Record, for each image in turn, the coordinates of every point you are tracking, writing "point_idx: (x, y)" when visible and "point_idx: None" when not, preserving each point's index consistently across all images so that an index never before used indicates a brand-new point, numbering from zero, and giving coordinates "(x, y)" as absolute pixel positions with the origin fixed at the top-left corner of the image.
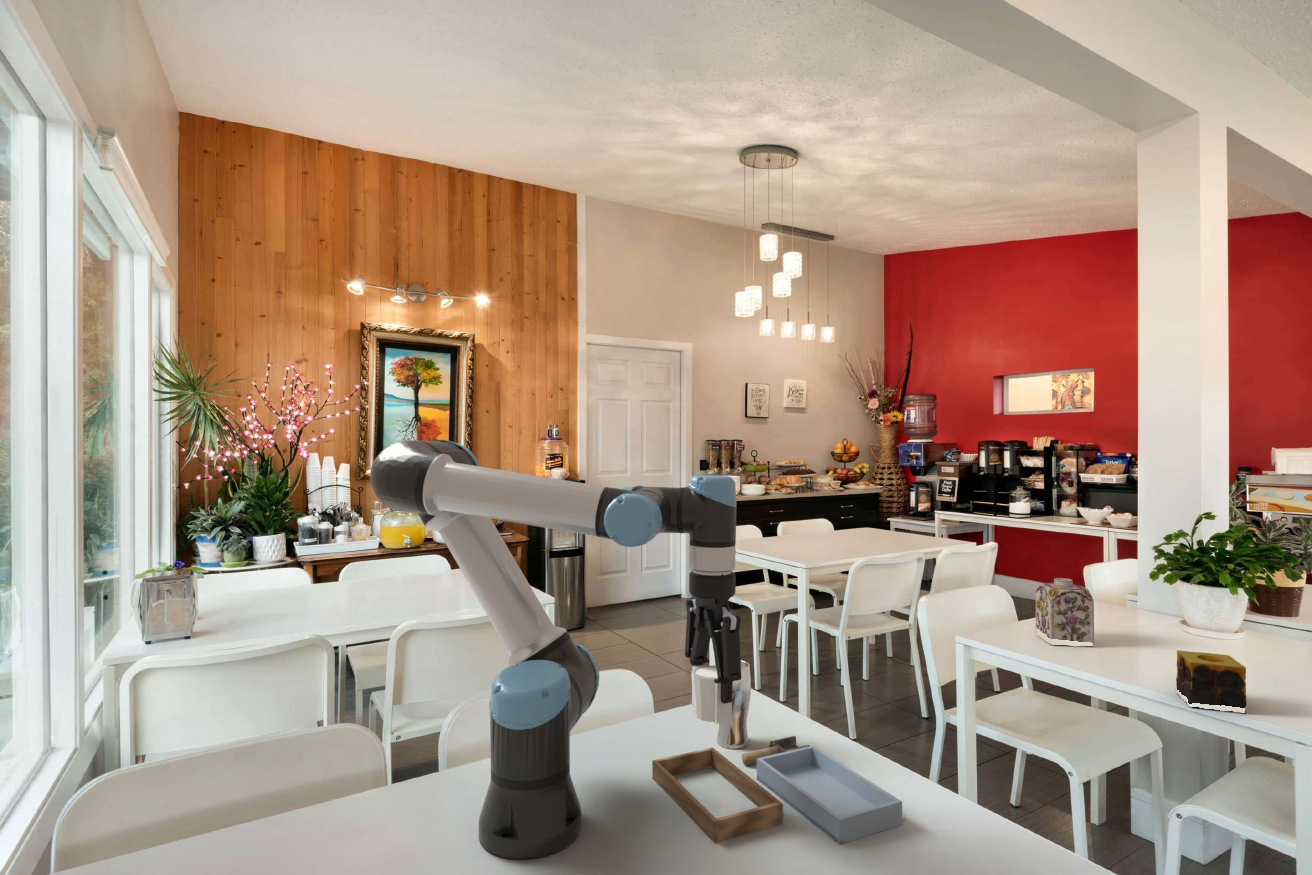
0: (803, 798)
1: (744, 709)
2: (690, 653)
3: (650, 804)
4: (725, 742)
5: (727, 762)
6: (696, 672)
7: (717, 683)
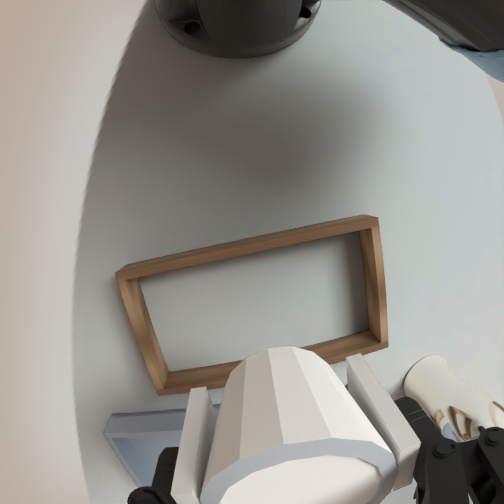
0: (177, 424)
1: None
2: (479, 458)
3: (269, 185)
4: (419, 368)
5: (323, 359)
6: (329, 457)
7: (171, 489)
